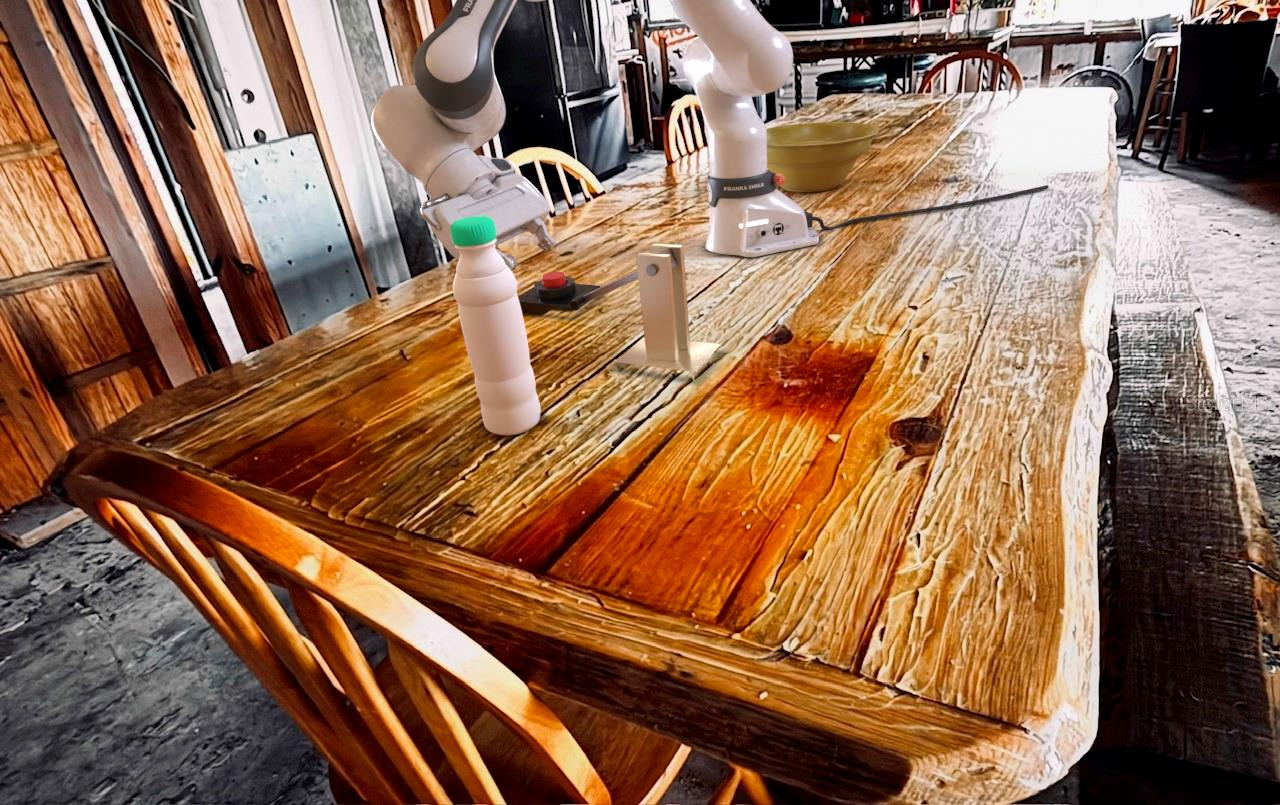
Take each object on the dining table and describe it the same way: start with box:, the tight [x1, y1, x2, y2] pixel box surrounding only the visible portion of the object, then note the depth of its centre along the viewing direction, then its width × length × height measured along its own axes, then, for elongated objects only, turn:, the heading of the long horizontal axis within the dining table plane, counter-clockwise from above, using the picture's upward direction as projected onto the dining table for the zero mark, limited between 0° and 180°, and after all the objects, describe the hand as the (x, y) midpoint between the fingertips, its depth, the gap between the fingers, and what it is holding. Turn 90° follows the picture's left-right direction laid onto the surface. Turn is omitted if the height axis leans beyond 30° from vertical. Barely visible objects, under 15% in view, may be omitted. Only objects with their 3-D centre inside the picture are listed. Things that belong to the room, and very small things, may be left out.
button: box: [541, 271, 566, 288], centre depth 120 cm, size 4×4×2 cm
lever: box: [570, 249, 677, 312], centre depth 95 cm, size 16×5×2 cm, turn 62°
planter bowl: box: [766, 121, 880, 193], centre depth 179 cm, size 32×32×13 cm
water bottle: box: [450, 216, 542, 436], centre depth 80 cm, size 7×7×25 cm
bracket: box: [615, 243, 722, 373], centre depth 94 cm, size 12×9×16 cm
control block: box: [518, 276, 601, 316], centre depth 121 cm, size 12×10×4 cm
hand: (532, 258), depth 100 cm, fingers open, 8 cm apart
